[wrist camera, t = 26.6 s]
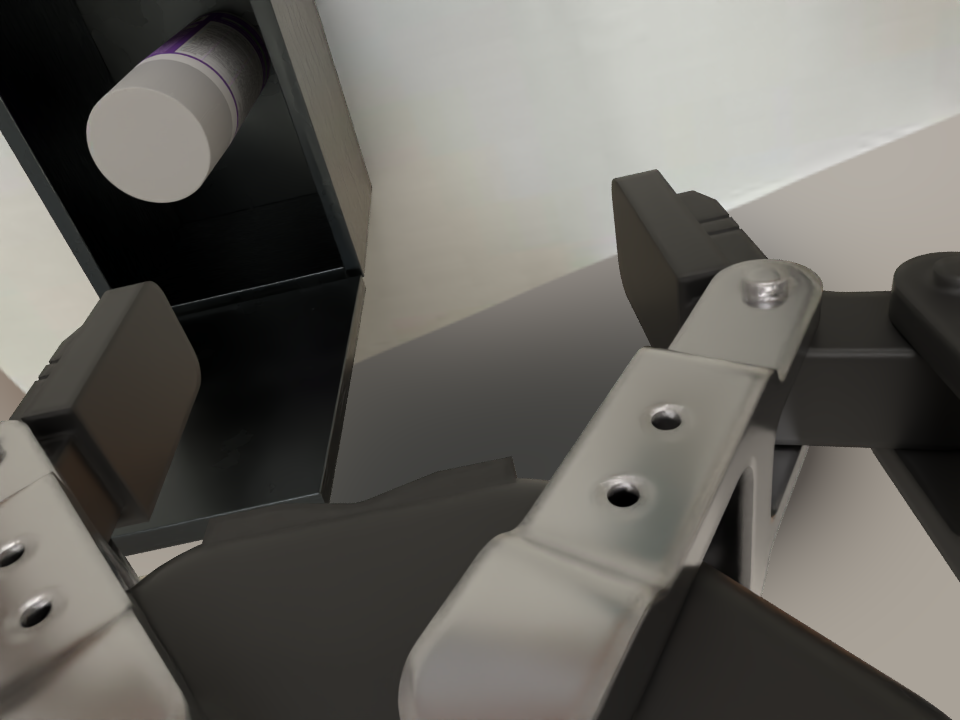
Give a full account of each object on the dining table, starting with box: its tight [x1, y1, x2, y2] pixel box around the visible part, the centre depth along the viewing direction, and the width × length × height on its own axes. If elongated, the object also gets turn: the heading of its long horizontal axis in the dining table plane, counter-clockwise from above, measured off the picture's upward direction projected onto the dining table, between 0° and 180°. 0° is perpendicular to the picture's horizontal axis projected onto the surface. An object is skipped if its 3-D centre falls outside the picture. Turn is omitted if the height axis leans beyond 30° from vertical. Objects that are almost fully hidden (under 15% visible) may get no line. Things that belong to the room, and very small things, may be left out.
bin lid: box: [111, 275, 366, 580], centre depth 30 cm, size 16×13×5 cm
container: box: [86, 11, 271, 203], centre depth 34 cm, size 5×5×15 cm
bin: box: [0, 0, 372, 317], centre depth 37 cm, size 16×13×12 cm
